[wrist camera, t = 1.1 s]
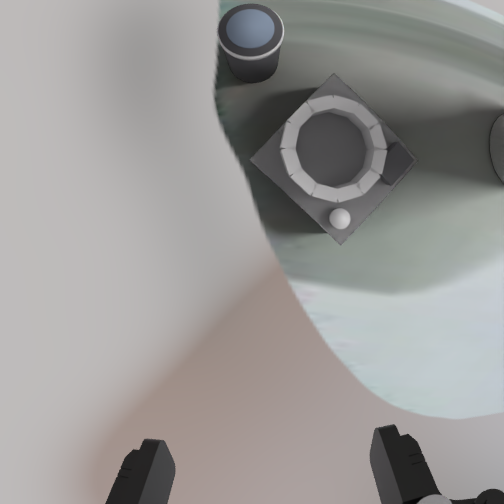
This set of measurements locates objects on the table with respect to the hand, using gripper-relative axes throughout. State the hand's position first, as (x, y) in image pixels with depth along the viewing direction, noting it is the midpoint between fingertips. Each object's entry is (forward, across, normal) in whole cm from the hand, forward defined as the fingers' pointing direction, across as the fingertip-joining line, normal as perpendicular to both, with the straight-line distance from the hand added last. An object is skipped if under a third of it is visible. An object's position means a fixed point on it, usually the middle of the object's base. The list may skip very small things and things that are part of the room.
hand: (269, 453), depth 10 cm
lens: (+22, -1, -20) cm, 30 cm away
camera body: (+22, -7, -10) cm, 25 cm away
